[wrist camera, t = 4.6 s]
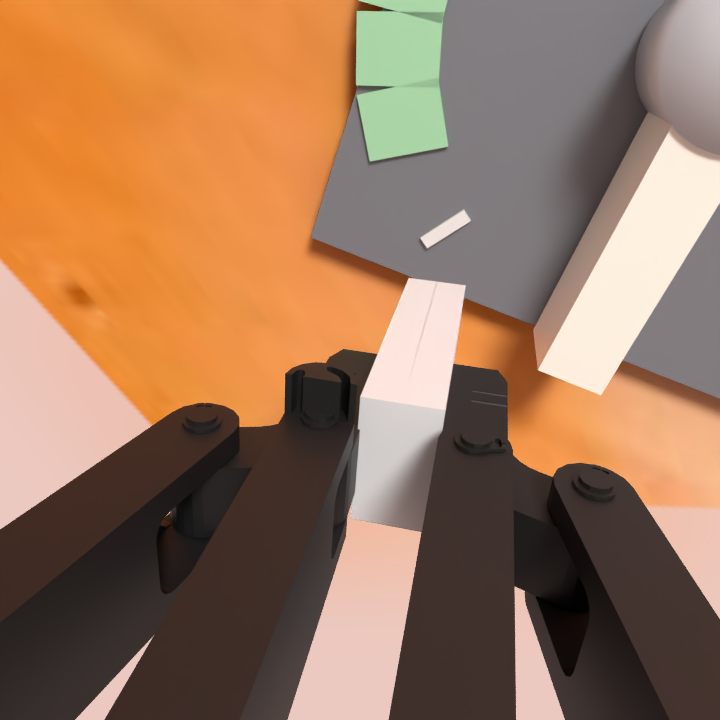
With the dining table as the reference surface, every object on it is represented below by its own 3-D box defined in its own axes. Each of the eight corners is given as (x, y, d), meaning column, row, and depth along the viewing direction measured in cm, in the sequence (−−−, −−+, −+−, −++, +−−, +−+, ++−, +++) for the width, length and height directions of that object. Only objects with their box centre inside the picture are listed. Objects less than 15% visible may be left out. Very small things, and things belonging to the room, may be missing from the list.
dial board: (293, 221, 28) (285, 229, 27) (522, -556, 18) (523, -593, 16) (802, 422, 28) (814, 438, 27) (1348, -244, 17) (1403, -263, 16)
